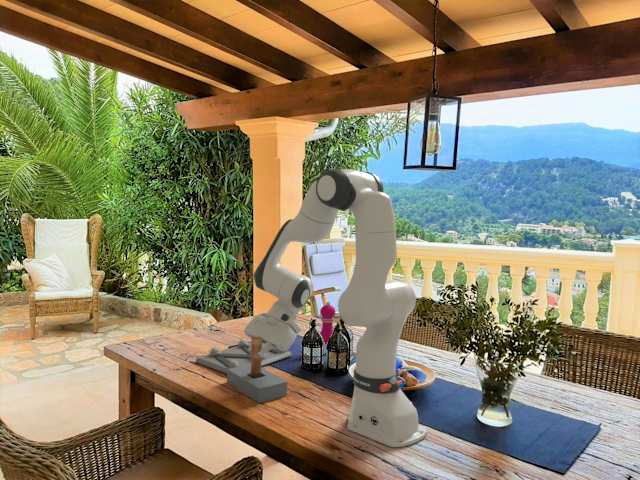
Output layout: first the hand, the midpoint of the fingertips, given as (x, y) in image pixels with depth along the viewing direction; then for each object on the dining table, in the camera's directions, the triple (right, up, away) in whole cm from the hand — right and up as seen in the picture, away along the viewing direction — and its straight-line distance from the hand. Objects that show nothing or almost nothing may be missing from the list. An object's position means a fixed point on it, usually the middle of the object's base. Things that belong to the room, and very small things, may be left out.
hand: (254, 353), depth 161 cm
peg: (0, -7, +1) cm, 7 cm away
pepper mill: (+23, -8, +41) cm, 48 cm away
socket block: (0, -12, +1) cm, 12 cm away
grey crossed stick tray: (-7, -9, +29) cm, 31 cm away
